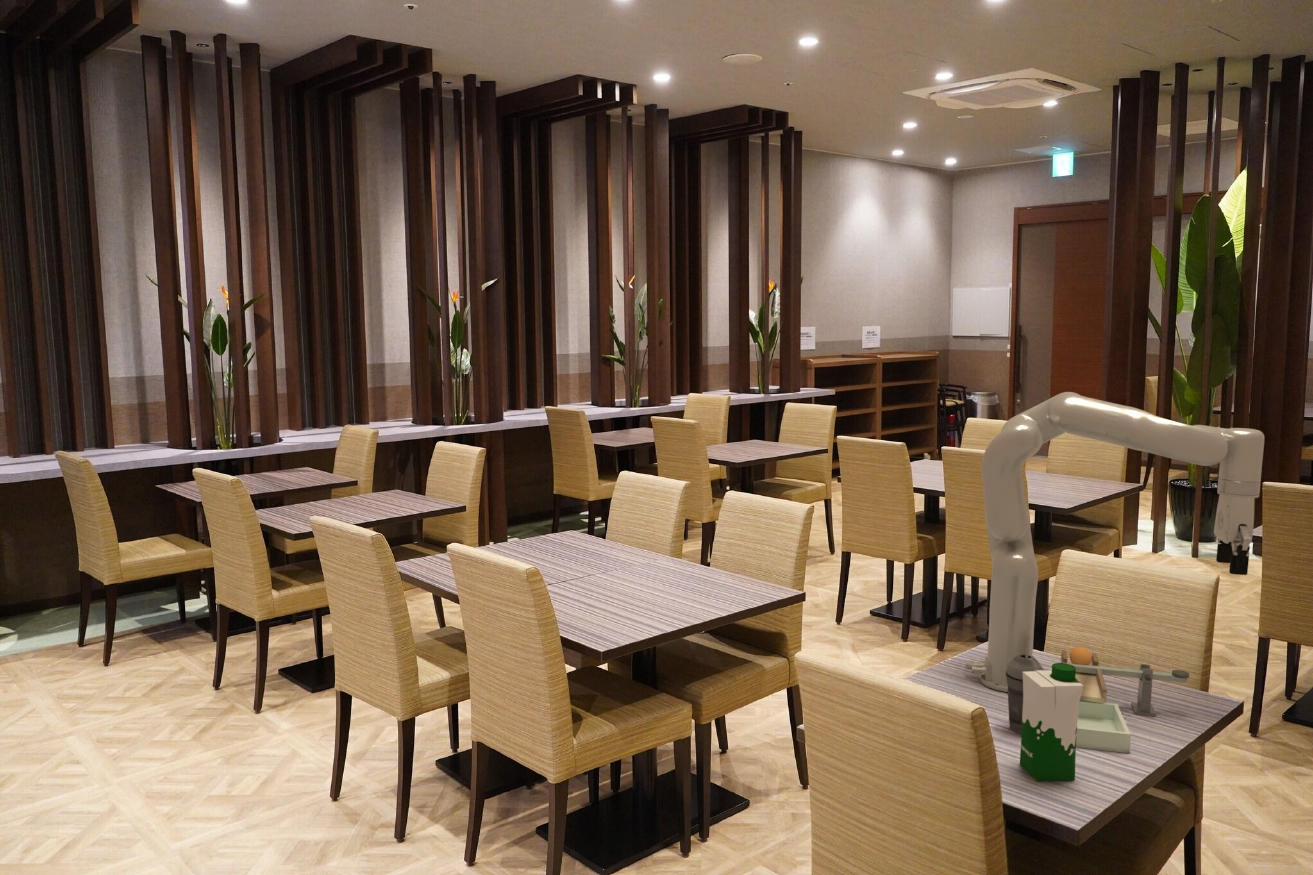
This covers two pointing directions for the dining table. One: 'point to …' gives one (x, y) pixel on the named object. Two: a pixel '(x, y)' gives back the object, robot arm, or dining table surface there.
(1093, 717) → the shallow mint tray
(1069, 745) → the milk carton
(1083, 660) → the ball
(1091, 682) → the ramp
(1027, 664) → the beverage cup
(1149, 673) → the pivot stand
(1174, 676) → the lever
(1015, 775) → the dining table surface
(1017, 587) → the robot arm
